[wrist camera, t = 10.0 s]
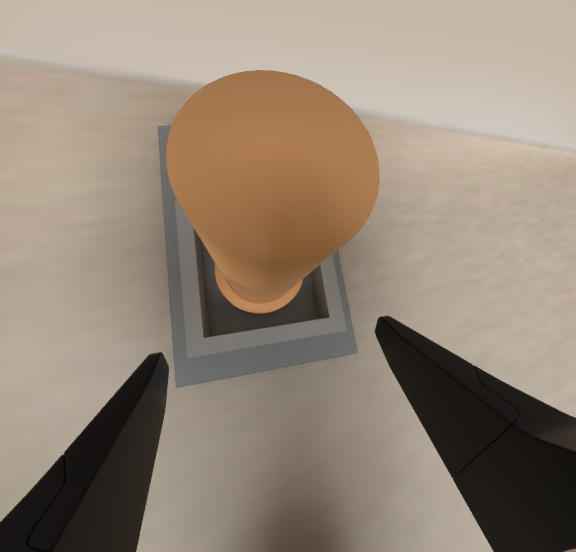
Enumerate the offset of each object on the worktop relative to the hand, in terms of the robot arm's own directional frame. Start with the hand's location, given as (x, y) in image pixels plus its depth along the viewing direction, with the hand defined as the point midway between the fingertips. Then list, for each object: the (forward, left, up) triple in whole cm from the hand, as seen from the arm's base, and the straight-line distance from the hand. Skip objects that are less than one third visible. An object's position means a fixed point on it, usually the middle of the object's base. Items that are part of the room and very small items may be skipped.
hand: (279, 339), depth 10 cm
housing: (+4, -6, -9) cm, 12 cm away
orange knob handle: (+2, -4, -8) cm, 9 cm away
